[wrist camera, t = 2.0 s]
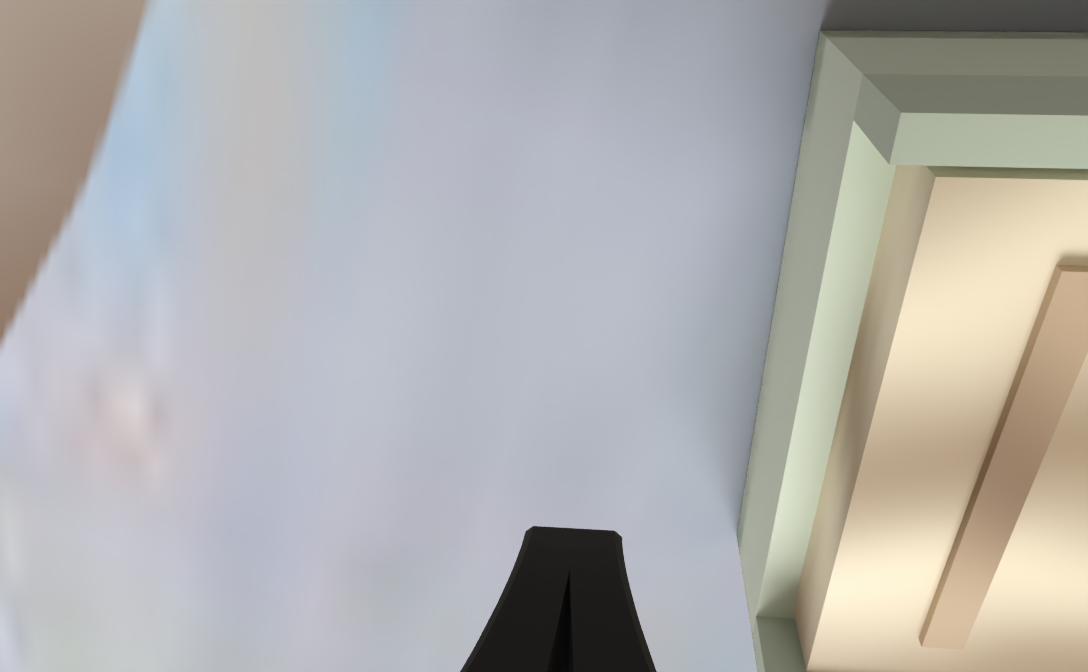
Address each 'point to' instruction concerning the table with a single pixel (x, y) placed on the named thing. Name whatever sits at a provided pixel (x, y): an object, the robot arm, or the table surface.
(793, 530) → the green tray
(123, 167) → the table surface
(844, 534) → the cover plate
